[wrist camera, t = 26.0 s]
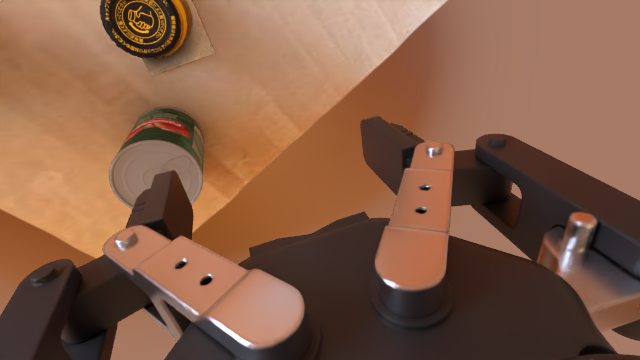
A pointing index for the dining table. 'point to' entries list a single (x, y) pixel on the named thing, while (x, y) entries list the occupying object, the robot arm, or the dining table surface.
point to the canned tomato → (159, 154)
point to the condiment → (157, 31)
